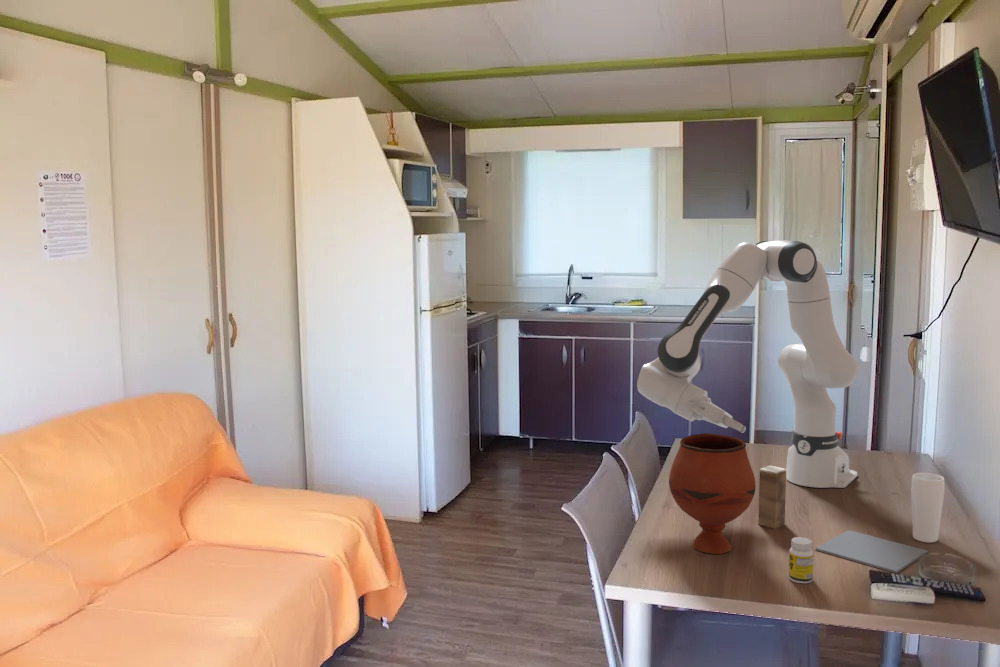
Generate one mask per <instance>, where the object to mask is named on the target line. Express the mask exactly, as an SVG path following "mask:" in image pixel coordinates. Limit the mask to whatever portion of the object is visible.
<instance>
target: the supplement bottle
mask: <svg viewBox="0 0 1000 667" xmlns="http://www.w3.org/2000/svg"><path fill="white" fill-rule="evenodd" d="M790 545H791V547H790V548H789V551H788V554H789V555H788V578H789V580H790V581H792V582H794V583H796V584H797V583H798V584H810V583H812V582H813V581H814V580H813V577H814V551H813V549H812V547H813V544H812V540H811V539H809V538H806V537H801V536H800V537H799V536H796V537H792V538H791V543H790Z"/></svg>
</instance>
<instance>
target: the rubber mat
mask: <svg viewBox="0 0 1000 667" xmlns="http://www.w3.org/2000/svg"><path fill="white" fill-rule="evenodd" d="M815 551H818V552H821V553H824V554H827V555H831V556H835V557H839V558H842V559H845V560H849V561H852V562H856V563H860V564H863V565H866V566H870V567H873V568H877V569H881V570H883V571H886V572H891V573H895V574H897V573H899V572H901V571H902V570H904V569H905V568H907V567H908V566H910V565H912V563H914V562H916V561H917V560H919V559H920V558H922V557H924V556H925V555H926V554H928V550H927V549H923V548H919V547H915V546H911V545H907V544H903V543H899V542H895V541H892V540H888V539H884V538H879V537H876V536H873V535H869V534H865V533H861V532H857V531H855V530H850V529H848V530H846V531H844V532H842V533H840V534H839V535H837V536H835V537H833V538H831V539H829V540H827V541H826V542H825V541H824V542H823V543H822V544H820V545H818V546H816V547H815ZM921 556H922V557H921Z"/></svg>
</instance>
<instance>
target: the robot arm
mask: <svg viewBox="0 0 1000 667" xmlns="http://www.w3.org/2000/svg"><path fill="white" fill-rule="evenodd" d="M761 280H768V281H772V282H781V281H782V282H784V284H785V286H786V292H787V303H788V304H787V305H788V311H789V319H790V326H791V329H792V330H793V332H794V333H795V334H796V335H797V336H798V338H799V340H801V342H800V343H792V344H788V345H786V346H785V347H783V348H782V349H781V351H780V352H779V355H778V361H777V362H778V363H777V364H778V368H779V371H781V373H782V374H783V375H784V377H785V378H786V381H787V384H788V385H789V388H790V393H791V396H792V402H793V414H794V415H793V416H794V417H793V424H794V425H793V426H794V427H793V430H792V434H791V443H792V445H791V446H790V447H788V450H787V456H786V457H787V459H786V465H785V469H786V481H788V482H790V483H792V484H795V485H798V486H802V487H803V486H804V487H809V488H822V489H823V488H835V489H836V488H837V489H842V488H843V489H844V488H846V487H848V485H849V484H850V483H852V482H853V481H855V479H856V478H857V477H858V476H859V474H858V471H856V470H853V469H850V458H849V455H848V454H847V453H846V452H845V451H844V450H843V449H842V448H841V447H840V446H839V445H840V444H839V440H841V439H842V437H843V433H842V432H841V431H836V428H837V426H836V424H837V423H836V421H837V407H836V405H835V403H834V402H833V400H832V399H831V397H830V396H829V394H828V392H827V389H845V388H848V387H849V386H851V385H852V384H853V383H854V382H855V380H856V379H857V376H858V371H859V368H858V367H859V365H858V362H857V360H856V358H855V357H854V356H852V354H851V353H850V352H849V351H848V350H847V348H846V347H845V345H844V343H843V342H842V339H841V337H840V336H839V333H838V331H837V329H836V326H835V323H834V322H835V321H834V316H833V309H832V301H831V293H830V286H829V282H828V278H827V274H826V272H825V268H824V266H823V264H822V263H821V261H819V260H817V255H816V252H815V251H814V249H813V248H812V247H811V245H809V244H807V243H805V242H803V241H799V240H789V239H787V240H785V239H777V240H769V241H768V240H762V241H759V242H755V243H752V242H745V241H744V242H741V243H738V244H737V245H736V246H735V247H734V248H733V249H732V250H731V251H729V253H728V254H727V256H725V258H724V259H723V260H722V262H721V263H720V264H719V266H718V267H717V269H716V270H715V272H714V273H713V274H712V276H711V278H710V279H709V281H708V283H707V286H705V289H704V291H703V293H702V294H701V296H700V297H699V299H698V300H697V302H696V303H695V305H694V306H692V308H691V310H690V311H689V313H688V314H687V315H686V317H685V318H684V319H683V321H682V322H681V323H680V324H679V325H678V326H676V328H674V329H673V330H671V331H670V332H668V333H667V334H666V335H663V337H662V339H660V342H659V343H658V346H657V358H655V359H653V360H652V361H650V362H648V363H645V364H643V365H642V366H641V368H640V370H639V371H638V374H637V378H636V388H637V391H638V393H639V394H641V396H643V397H644V398H645V399H647V400H649V401H650V402H653V403H655V404H657V405H658V406H659V407H664V408H666V409H669V410H670V411H671V412H672V413H674V414H676V415H677V416H679V417H682V418H683V419H685V420H687V421H689V422H692V423H693V422H694V421H696V420H698V421H706V422H708V423H711V424H714V425H715V426H719V427H721V428H724V429H728V427H729V428H732V429H733V430H736V431H738V432H740V433H741V434H743V433H745V432H746V429H747V427H746V425H743V424H742V423H741V422H739V421H737V420H735V419H734V418H733V416H732V415H731V414H730V413H728V412H727V411H725V410H724V409H722V408H720V407H719V406H718V405H716V404H715V403H713V402H712V399H711V398H710V397H709V395H708V391H707V390H706V389H705V390H704V389H703V388H701V387H699V386H697V385H695V384H693V383H691V382H692V380H693V379H695V377H696V375H697V374H698V373H699V371H700V368H701V364H702V363H701V362H702V361H701V356H700V352H699V350H700V344H701V342H702V341H701V340H702V339H703V338H704V336H705V335H706V333H707V332H708V330H709V329H710V328H711V326H712V325H713V324H714V323H715V321H716V319H717V318H718V317H719V316H720V315H721V314H723V313H732V312H736V311H738V310H739V309H740V308H741V307H742V306H743V305H744V304H745V303H746V302H747V301H748V299H749V298H750V296H751V295H752V293H753V292H754V290H755V289H756V287H757V284H758V283H759V282H760V281H761Z"/></svg>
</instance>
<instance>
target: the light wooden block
mask: <svg viewBox="0 0 1000 667" xmlns="http://www.w3.org/2000/svg"><path fill="white" fill-rule="evenodd" d="M758 484H759V486H758V487H759V488H758V521H757V522H758V525H760V526H762V527H766V528H771V529H774V530H776V529H778V528H780V527H782V526H784V525H785V524H786V522H785V521H786V520H785V519H786V492H787V490H786V489H787V488H786V486H787V478H786V468H783V467H779V466H774V465H771V464H770V465H769V464H768V465H767V466H764V467H762V468H759V482H758Z"/></svg>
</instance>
